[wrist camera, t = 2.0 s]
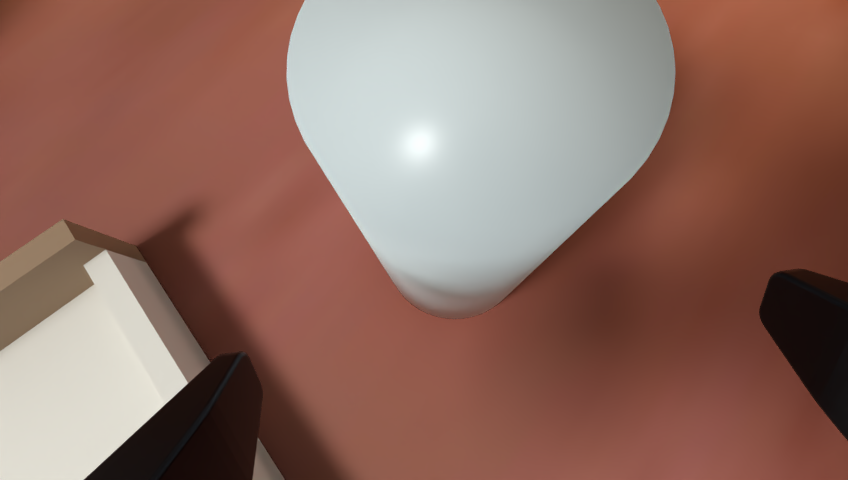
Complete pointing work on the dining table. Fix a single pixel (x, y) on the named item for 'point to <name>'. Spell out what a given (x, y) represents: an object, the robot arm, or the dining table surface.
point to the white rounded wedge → (477, 128)
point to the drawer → (86, 354)
